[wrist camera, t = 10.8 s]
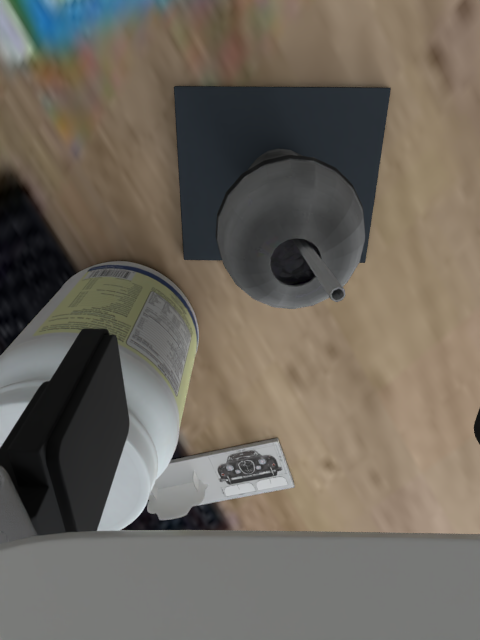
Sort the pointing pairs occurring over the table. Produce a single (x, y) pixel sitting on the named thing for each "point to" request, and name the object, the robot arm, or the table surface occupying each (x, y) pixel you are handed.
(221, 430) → the table surface
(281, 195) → the beverage cup
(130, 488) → the supplement tub
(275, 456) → the vintage car picture box
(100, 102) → the table surface
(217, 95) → the mat
